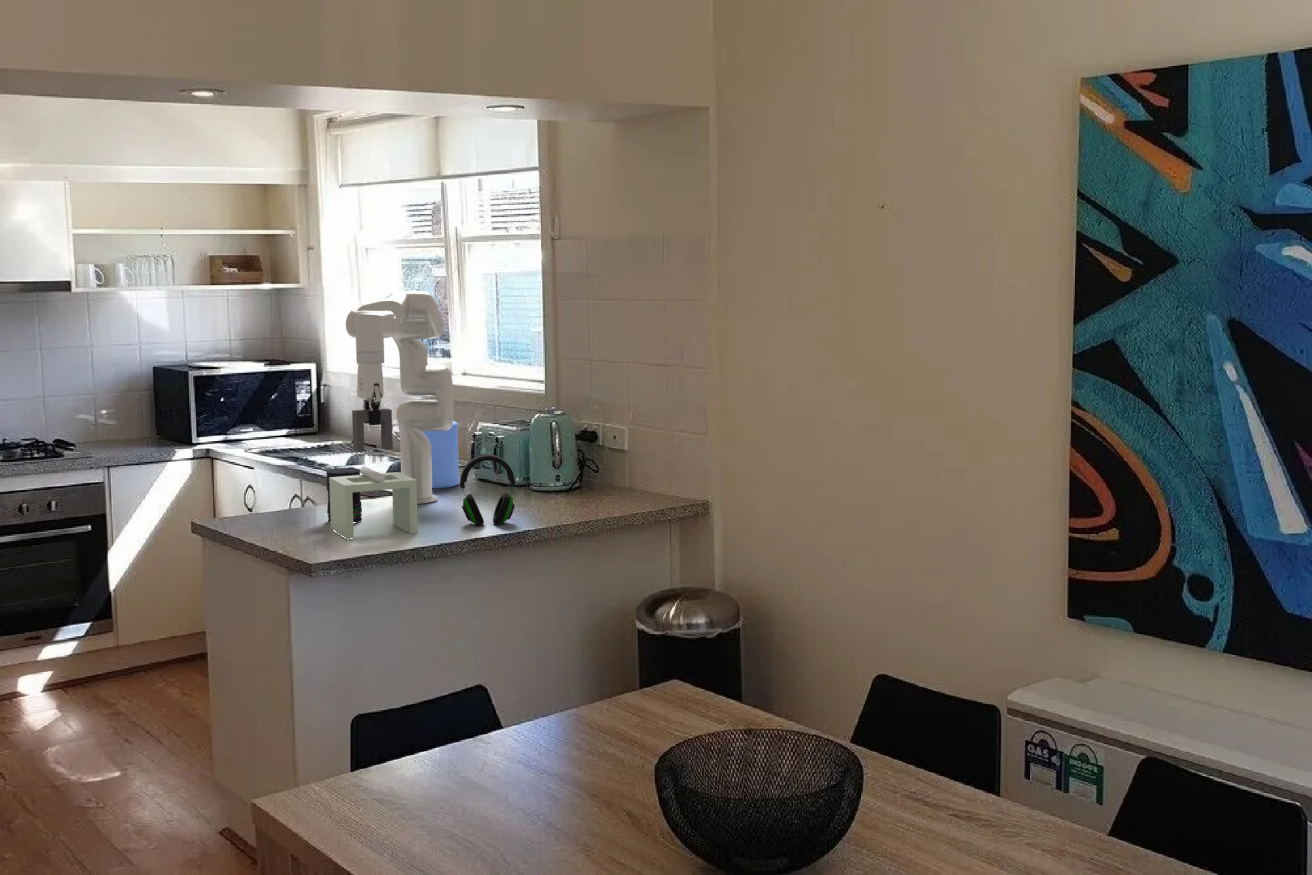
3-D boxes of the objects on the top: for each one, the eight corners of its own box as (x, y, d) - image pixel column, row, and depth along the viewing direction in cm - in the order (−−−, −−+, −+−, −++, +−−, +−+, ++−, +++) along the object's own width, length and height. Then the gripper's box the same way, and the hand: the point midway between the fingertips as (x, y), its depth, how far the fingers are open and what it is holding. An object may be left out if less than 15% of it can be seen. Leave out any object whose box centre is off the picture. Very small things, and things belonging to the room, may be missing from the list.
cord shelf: (331, 530, 394) (328, 468, 391) (400, 523, 403) (398, 463, 400) (346, 540, 380) (344, 476, 377) (417, 533, 389) (416, 471, 386)
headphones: (517, 526, 399) (516, 456, 396) (462, 528, 395) (460, 458, 393) (513, 520, 408) (512, 452, 405) (459, 522, 405) (458, 453, 402)
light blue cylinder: (468, 483, 471) (467, 401, 468) (437, 490, 458) (435, 405, 454) (433, 479, 480) (431, 398, 476) (402, 486, 466) (399, 402, 463)
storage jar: (324, 519, 409) (323, 469, 407) (358, 517, 413) (356, 466, 411) (331, 525, 400) (329, 474, 398) (365, 522, 404) (363, 471, 402)
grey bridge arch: (353, 449, 388) (352, 410, 386) (388, 447, 392) (387, 408, 391) (357, 451, 384) (356, 411, 383) (392, 449, 389) (391, 409, 387)
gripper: (348, 356, 391) (350, 421, 393) (365, 360, 376) (367, 428, 378) (374, 355, 394) (376, 420, 396) (392, 359, 379) (394, 426, 382)
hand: (372, 423), depth 387 cm, fingers closed on grey bridge arch, 4 cm apart
